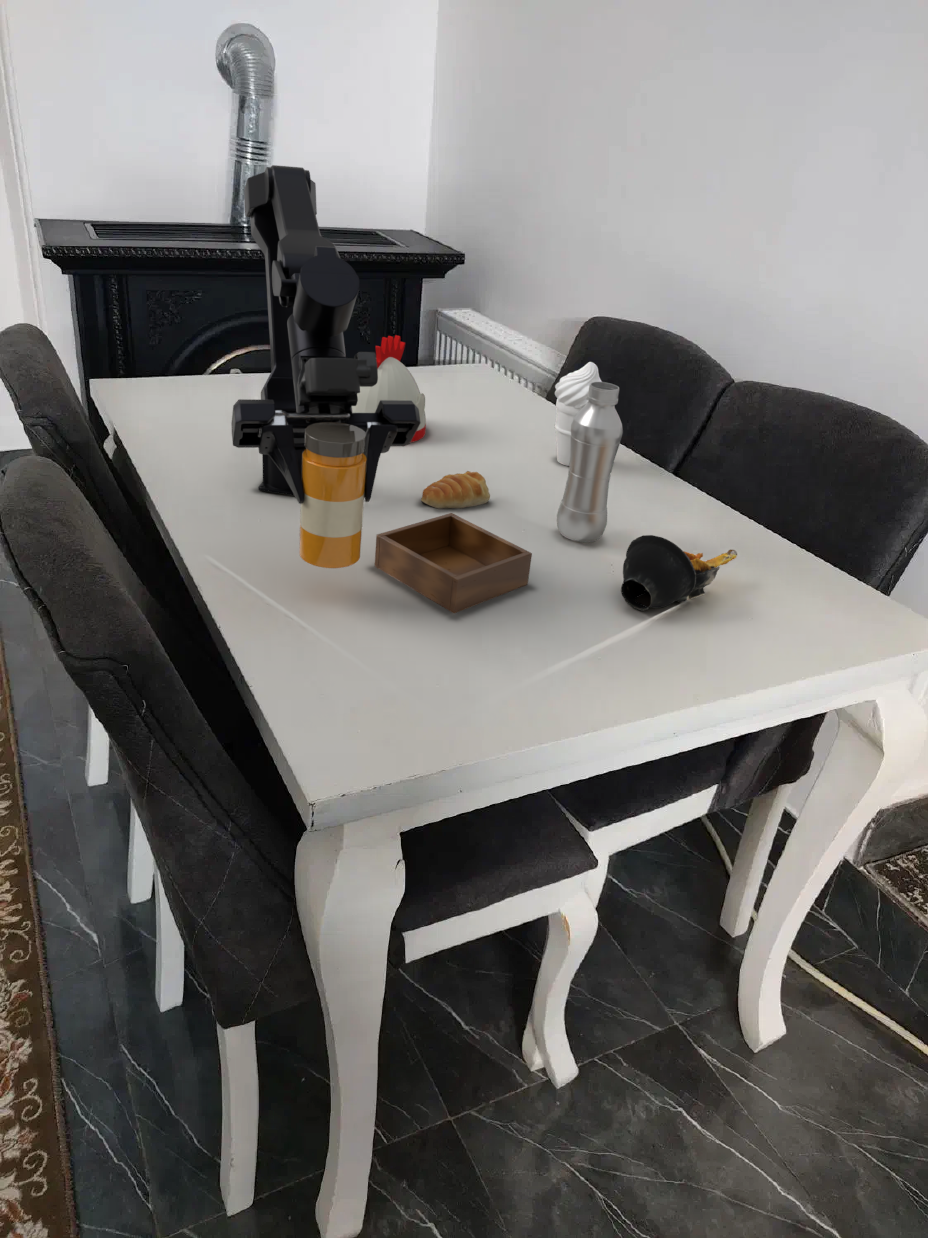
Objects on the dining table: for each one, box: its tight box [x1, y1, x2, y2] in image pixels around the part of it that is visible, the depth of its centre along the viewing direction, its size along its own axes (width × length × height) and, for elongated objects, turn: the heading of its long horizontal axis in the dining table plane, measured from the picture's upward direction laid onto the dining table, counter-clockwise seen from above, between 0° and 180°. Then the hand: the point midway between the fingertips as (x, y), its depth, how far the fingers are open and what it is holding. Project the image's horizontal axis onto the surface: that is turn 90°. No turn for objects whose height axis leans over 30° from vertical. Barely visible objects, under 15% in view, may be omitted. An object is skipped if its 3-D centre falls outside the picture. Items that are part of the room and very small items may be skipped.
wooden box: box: [374, 512, 533, 614], centre depth 106 cm, size 13×12×4 cm
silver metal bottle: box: [556, 381, 624, 543], centre depth 116 cm, size 6×7×20 cm
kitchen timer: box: [352, 334, 427, 444], centre depth 147 cm, size 14×14×15 cm
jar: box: [298, 422, 367, 569], centre depth 94 cm, size 6×6×14 cm
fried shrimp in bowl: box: [620, 534, 738, 612], centre depth 107 cm, size 9×11×18 cm
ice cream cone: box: [554, 361, 603, 467], centre depth 142 cm, size 8×8×16 cm
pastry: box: [421, 470, 491, 509], centre depth 126 cm, size 9×7×4 cm
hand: (334, 501), depth 93 cm, fingers closed on jar, 6 cm apart
